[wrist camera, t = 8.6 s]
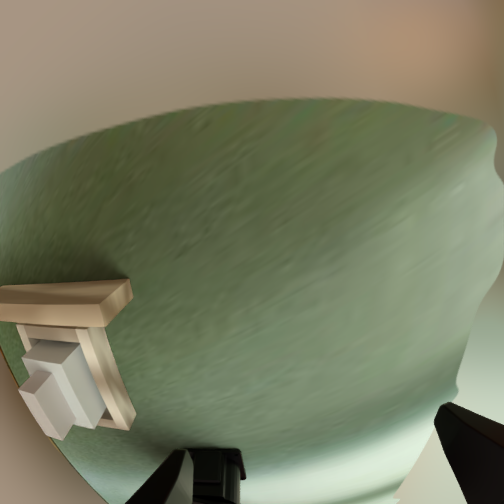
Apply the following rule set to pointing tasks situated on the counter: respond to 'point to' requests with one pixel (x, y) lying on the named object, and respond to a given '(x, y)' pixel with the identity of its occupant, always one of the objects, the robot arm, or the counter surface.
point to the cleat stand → (76, 330)
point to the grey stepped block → (61, 388)
